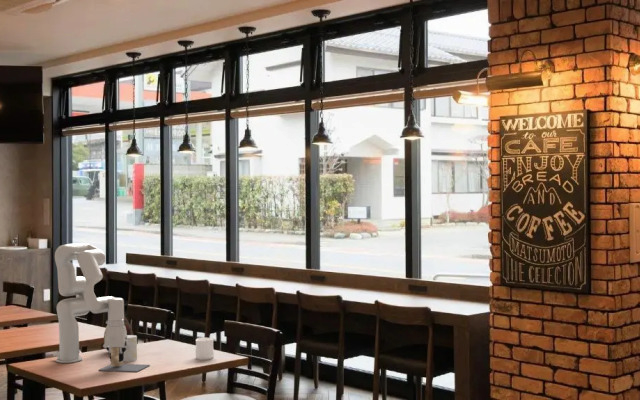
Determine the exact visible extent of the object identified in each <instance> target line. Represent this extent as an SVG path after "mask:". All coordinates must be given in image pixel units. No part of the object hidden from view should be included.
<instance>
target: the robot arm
mask: <svg viewBox="0 0 640 400" xmlns="http://www.w3.org/2000/svg"><path fill="white" fill-rule="evenodd" d="M71 261H77V263H78V265H79V268H80V270H81V273H82V275H83V276H82V275H78V276H76V269H75V266H74V264H73V263H72V262H71ZM54 262H55V265H56V268H57V269H56V270H57V285H58V293H59V294H60V295H61V296H63V297H70V298H65V299H64V298H63V299H62V300H59V302H58V303H57V304H56V313H57V318H58V319H57V320H58V333H59V334H58V337H59V338H58V339H59V340H58V345H59V351H58V352H57V351H54V352H53V355H52V356H53V357H57V358H56V363H61V364H68V363H69V364H70V363H78V362H80V361H83V356H81V355H80V340H79V339H80V332H79V331H80V330H79V323H78V321H77V319H76V317H80V316H85V315H87V314H88V313H90V312H91V313H92V314H102V313H107V320H105V324H108V326H107V325H106V326H107V327H106V326H105V329H106V333H105V342H104V344H103V345H102V347H103V348H104V349H106V350H107V353H108V354H109V360H110V362H111V347H116V348H119V350H120V353H119V362H121V361H122V362H123V359H124V352H125V351H126V350H127V349H128V348H129V347H130V345H129V343H128V342H127V331H126V327H125V326H124V317H125V306H124V300H123V299H124V298H122V297H116V296H112V295H111V296H109V295H108V296H101V297H100V296H98V297H97V296H96V294H95V292H94V291H95V289H94V288H95V285H96V284H97V283H99V282H101V280H102V279H103V277H104V275H103V273H102V270H101V267H100V266H102V265H104V264H105V262H106V255H105V252H104V251H103V250H101V249H100V248H98V247H96V246H94V245H92V244H90V243H87V242H77V243H76V242H75V243H66V244H62V245H59V246H58V247H57V248H56V250H55V252H54ZM71 296H75V297H71ZM115 297H116V298H115ZM124 346H126V347H125V348H124Z"/></svg>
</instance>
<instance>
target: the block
mask: <svg viewBox="0 0 640 400" xmlns="http://www.w3.org/2000/svg"><path fill="white" fill-rule="evenodd" d="M119 353H120V350H119V348H116V347H111V361H110V364H111V366H121V365H123V364H124V363H123V361H121V362H119Z"/></svg>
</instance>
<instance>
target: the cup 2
mask: <svg viewBox="0 0 640 400" xmlns="http://www.w3.org/2000/svg"><path fill="white" fill-rule="evenodd" d="M214 352H215V351H214V338H212V337H198V338H196V339H195V359H196V360H199V361H205V360H206V361H207V360H212V359H213V358H214V354H215V353H214Z"/></svg>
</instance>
